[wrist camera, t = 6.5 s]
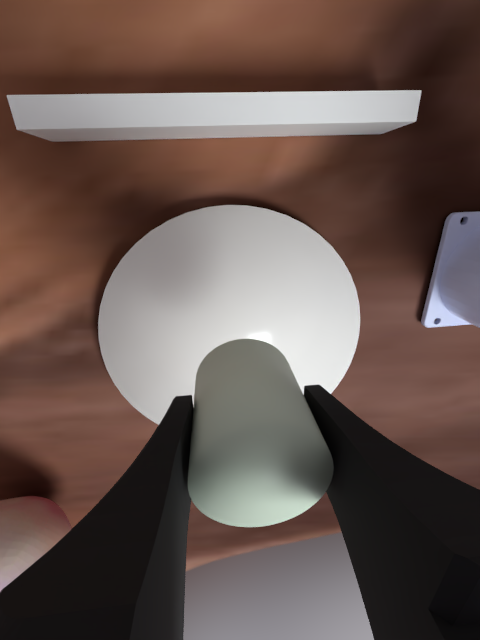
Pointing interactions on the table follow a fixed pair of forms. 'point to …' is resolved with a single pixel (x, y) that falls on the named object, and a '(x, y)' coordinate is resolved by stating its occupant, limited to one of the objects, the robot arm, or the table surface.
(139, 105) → the light grey rectangular bar
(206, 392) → the green cylinder
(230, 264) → the white plate
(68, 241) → the table surface
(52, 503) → the decorative fruit
